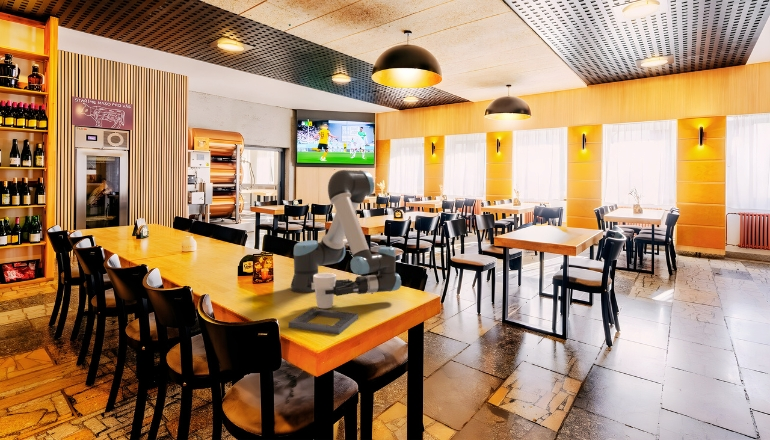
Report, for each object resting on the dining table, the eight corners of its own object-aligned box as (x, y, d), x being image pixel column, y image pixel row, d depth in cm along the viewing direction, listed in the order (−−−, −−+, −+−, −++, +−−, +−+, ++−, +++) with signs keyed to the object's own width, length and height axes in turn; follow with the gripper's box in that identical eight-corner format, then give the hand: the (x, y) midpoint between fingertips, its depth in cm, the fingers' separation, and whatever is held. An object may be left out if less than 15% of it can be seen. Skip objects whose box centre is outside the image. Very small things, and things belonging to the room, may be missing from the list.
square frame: (288, 327, 143) (288, 322, 143) (311, 313, 159) (311, 308, 159) (339, 334, 137) (339, 328, 137) (358, 318, 153) (358, 313, 153)
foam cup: (314, 302, 170) (314, 272, 169) (336, 302, 171) (336, 272, 170) (312, 309, 161) (312, 278, 159) (335, 309, 161) (335, 278, 160)
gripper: (374, 300, 162) (319, 305, 153) (358, 286, 182) (309, 291, 174) (374, 282, 161) (319, 286, 153) (358, 270, 181) (309, 274, 173)
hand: (314, 289), depth 163 cm, fingers closed on foam cup, 9 cm apart
